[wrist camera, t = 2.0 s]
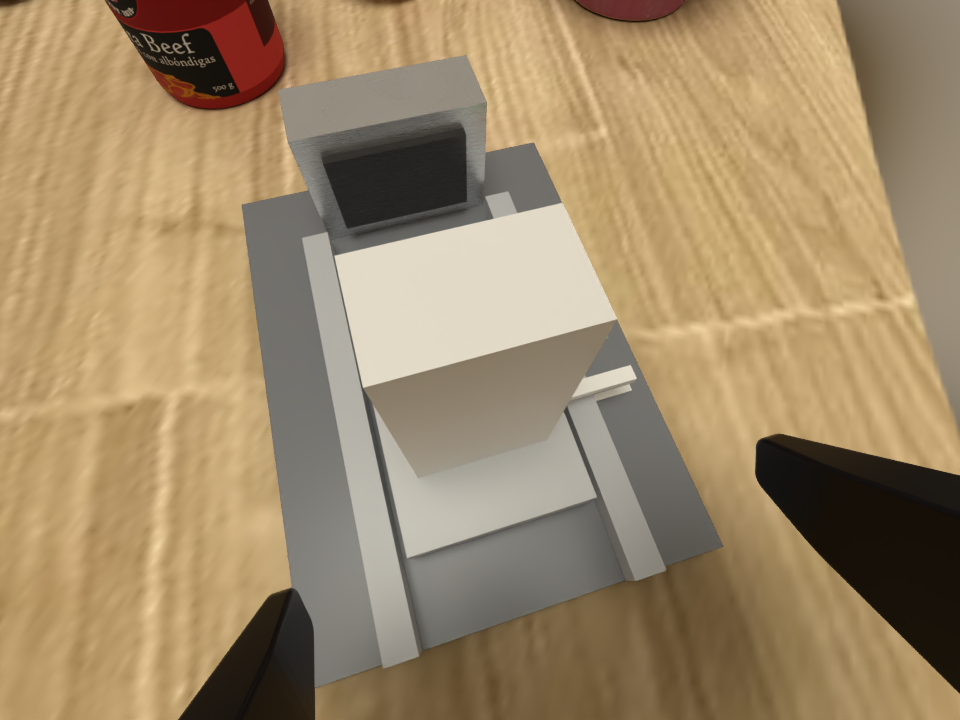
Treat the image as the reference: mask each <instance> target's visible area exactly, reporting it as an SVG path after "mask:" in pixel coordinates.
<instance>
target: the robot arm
mask: <svg viewBox="0 0 960 720" xmlns="http://www.w3.org/2000/svg"><path fill="white" fill-rule="evenodd" d="M755 475H756V478H757V481H758V483H759V484H760V486H761V487H762V488H763V490H764V491H765V492H766V493H767V494H768V495H769V497H770V498H771V499H772V500H773V501H774V503H775V504H776V505H777V506H778V507H779V508H780V510H781V511H782V512H783V513H784V514H785V516H786V517H787V518H788V519H789V520H790V521H791V523H792V524H793V525H794V526H795V527H796V529H797V530H798V531H799V532H800V533H801V534H802V536H803V537H804V538H805V539H806V540H807V541H808V543H809V544H810V545H811V546H812V547H813V548H814V549H815V550H816V551H817V552H818V554H819V555H820V556H821V557H822V558H823V559H824V560H825V561H826V562H827V563H828V564H829V565H830V566H831V567H832V568H833V569H834V570H835V571H836V572H837V573H838V574H839V575H840V576H841V577H842V578H843V579H844V580H845V581H846V582H847V583H848V584H849V585H850V586H851V587H852V588H853V589H854V590H856V591H857V592H858V593H859V594H860V595H861V596H862V597H863V598H864V599H865V600H866V601H867V602H868V603H869V604H870V605H871V606H872V607H873V608H874V609H875V610H876V611H877V612H878V613H879V614H880V615H881V616H882V617H883V618H884V619H885V620H886V621H887V622H888V623H889V624H890V625H891V626H892V627H893V628H894V629H895V630H896V631H897V632H898V633H899V634H900V635H901V636H902V637H903V638H904V639H905V640H906V641H907V642H908V643H909V644H910V645H911V646H912V647H913V648H914V649H915V650H916V651H917V652H918V653H919V654H920V655H921V656H922V657H923V658H924V659H925V660H926V661H927V662H928V663H929V664H930V665H931V666H932V667H933V668H934V669H935V670H936V671H937V672H938V673H939V674H940V675H941V676H942V677H943V678H944V679H945V680H946V681H947V682H948V683H949V684H950V685H951V686H952V687H953V688H954V689H955V690H956V691H957V692H958V693H959V694H960V475H956V474H951V473H947V472H943V471H938V470H934V469H930V468H925V467H921V466H917V465H913V464H908V463H904V462H900V461H895V460H891V459H887V458H883V457H878V456H874V455H870V454H865V453H861V452H857V451H852V450H848V449H844V448H840V447H835V446H831V445H827V444H822V443H818V442H814V441H810V440H805V439H801V438H797V437H792V436H788V435H784V434H774V435H771V436H768V437H764V438H762V439H760V440H758V442H757V444H756V463H755ZM178 720H315V665H314V628H313V623H312V620H311V617H310V615H309V613H308V611H307V609H306V607H305V605H304V603H303V601H302V599H301V596H300V594H299V592H298V591H297V590H296V589H295V588H289V589H286V590H282V591H279V592H276V593H273V594H271V595H270V596H269V597H268V598H267V599H266V600H265V602H264V603H263V605H262V606H261V607H260V609H259V610H258V611H257V613H256V614H255V615H254V617H253V618H252V620H251V621H250V622H249V624H248V625H247V626H246V628H245V629H244V630H243V632H242V633H241V635H240V636H239V637H238V639H237V640H236V641H235V643H234V644H233V645H232V647H231V648H230V650H229V651H228V652H227V654H226V655H225V656H224V658H223V659H222V660H221V662H220V663H219V665H218V666H217V667H216V669H215V670H214V671H213V673H212V674H211V675H210V677H209V678H208V680H207V681H206V682H205V684H204V685H203V686H202V688H201V689H200V690H199V692H198V693H197V695H196V696H195V697H194V699H193V700H192V701H191V703H190V704H189V705H188V707H187V708H186V710H185V711H184V712H183V714H182V715H181V716H180V718H179V719H178Z"/></svg>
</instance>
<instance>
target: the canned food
mask: <svg viewBox="0 0 960 720" xmlns="http://www.w3.org/2000/svg"><path fill="white" fill-rule="evenodd" d="M105 1H106V3H107V4H108V6H109V8H110V9H111V11H112V12H113V14H114V15H115V17H116V18H117V20H118V21H119V23H120V24H121V26H122V27H123V29H124V30H125V32H126V34H127V35H128V37H129V38H130V40H131V41H132V43H133V44H134V46H135V47H136V49H137V50H138V52H139V53H140V55H141V56H142V58H143V60H144V61H145V63H146V64H147V66H148V67H149V69H150V70H151V72H152V73H153V75H154V76H155V78H156V79H157V81H158V82H159V84H160V85H161V86H162V87H163V88H164V89H165V90H166V91H168V92H169V93H170V94H171V95H172V96H173V97H175V98H176V99H177V100H178V101H180V102H182V103H185V104H187V105H190V106H194V107H198V108H209V109H214V108H226V107H231V106H236V105H239V104H242V103H245V102H248V101H250V100H252V99H254V98H256V97H258V96H259V95H261V94H263V93H264V92H266V91H267V90H268V89H269V88H270V87H271V86H272V85H273V84H274V83H275V82H276V81H277V79H278V78H279V77H280V75H281V73H282V71H283V67H284V48H283V41H282V38H281V36H280V33H279V30H278V27H277V24H276V22H275V19H274V16H273V13H272V10H271V8H270V5H269V2H268V0H105Z"/></svg>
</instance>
